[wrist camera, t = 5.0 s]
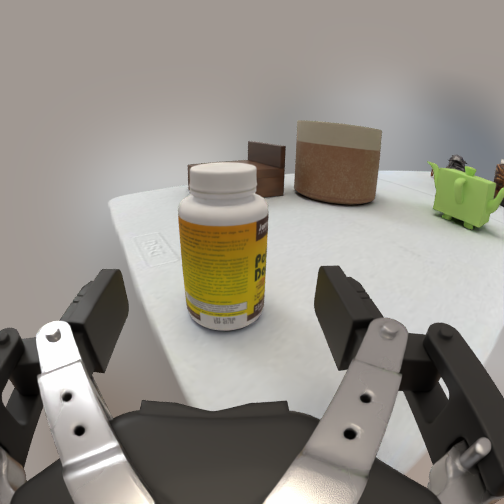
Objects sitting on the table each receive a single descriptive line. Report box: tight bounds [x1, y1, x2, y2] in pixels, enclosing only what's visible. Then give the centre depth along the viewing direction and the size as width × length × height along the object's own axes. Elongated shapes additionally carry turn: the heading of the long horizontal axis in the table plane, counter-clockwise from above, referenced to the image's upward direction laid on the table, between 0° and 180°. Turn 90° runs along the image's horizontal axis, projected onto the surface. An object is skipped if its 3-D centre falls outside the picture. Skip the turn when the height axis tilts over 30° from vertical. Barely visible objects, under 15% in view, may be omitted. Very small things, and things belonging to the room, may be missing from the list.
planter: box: [294, 121, 382, 205], centre depth 51 cm, size 16×16×14 cm
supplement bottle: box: [178, 162, 269, 331], centre depth 19 cm, size 6×6×10 cm
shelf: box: [188, 141, 286, 198], centre depth 51 cm, size 14×12×9 cm
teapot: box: [428, 162, 504, 229], centre depth 42 cm, size 15×13×11 cm
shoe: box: [446, 155, 467, 172], centre depth 66 cm, size 10×27×12 cm, turn 149°
